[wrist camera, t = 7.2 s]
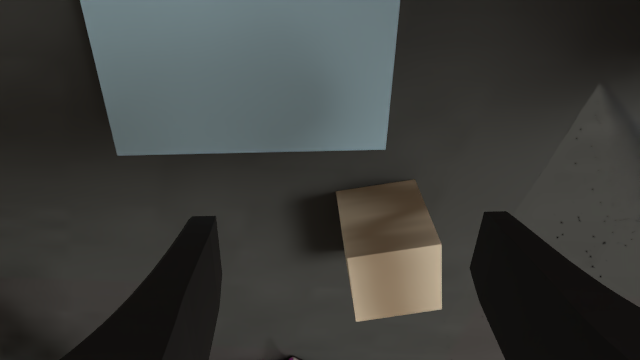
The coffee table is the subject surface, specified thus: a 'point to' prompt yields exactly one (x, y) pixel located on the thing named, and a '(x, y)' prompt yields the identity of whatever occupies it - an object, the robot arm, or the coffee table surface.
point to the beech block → (390, 250)
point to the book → (244, 74)
